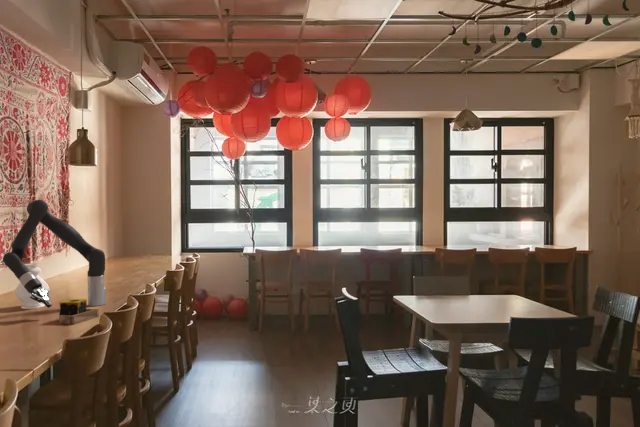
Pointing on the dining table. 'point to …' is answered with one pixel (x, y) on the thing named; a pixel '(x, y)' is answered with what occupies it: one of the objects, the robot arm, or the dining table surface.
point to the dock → (79, 317)
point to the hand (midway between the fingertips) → (50, 306)
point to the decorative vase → (25, 295)
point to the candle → (73, 306)
